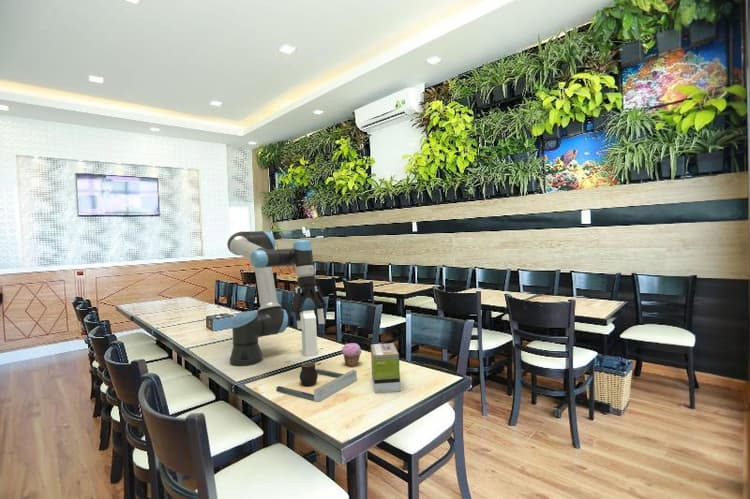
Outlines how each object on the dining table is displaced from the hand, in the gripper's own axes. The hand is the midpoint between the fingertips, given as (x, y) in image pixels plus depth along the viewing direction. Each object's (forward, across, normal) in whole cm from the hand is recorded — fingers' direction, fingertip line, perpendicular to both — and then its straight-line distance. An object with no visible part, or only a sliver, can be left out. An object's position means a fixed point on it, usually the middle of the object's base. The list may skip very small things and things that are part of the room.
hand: (311, 326), depth 166 cm
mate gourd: (+22, -6, 0) cm, 23 cm away
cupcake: (+21, +21, -3) cm, 30 cm away
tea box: (+26, +6, -29) cm, 39 cm away
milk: (+16, +26, +25) cm, 40 cm away
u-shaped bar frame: (+23, -6, -6) cm, 24 cm away
